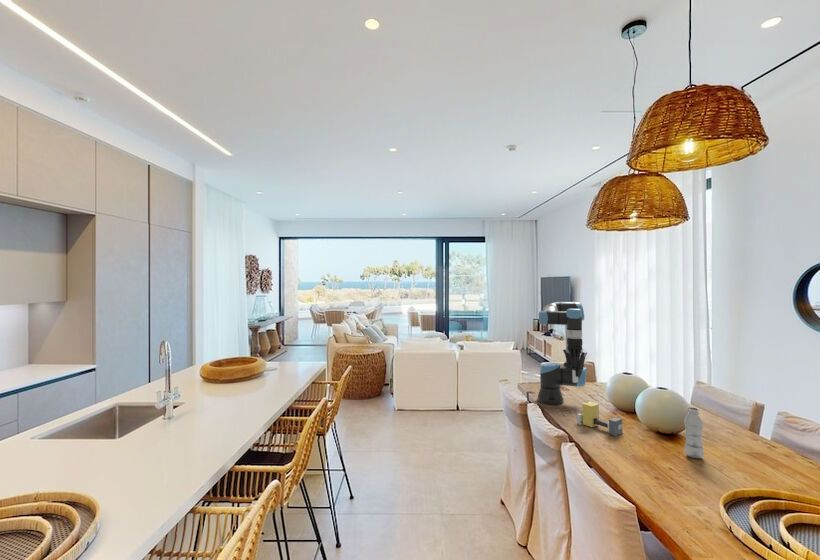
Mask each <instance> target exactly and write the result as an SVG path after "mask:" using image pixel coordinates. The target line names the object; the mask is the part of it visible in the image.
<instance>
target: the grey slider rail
mask: <svg viewBox="0 0 820 560" xmlns="http://www.w3.org/2000/svg"><path fill="white" fill-rule="evenodd" d="M576 424H577V425H581V426H582V425H584V424H583V413H576ZM594 424H597V426H601V427H603V428H607V432H608V435H610V436H614V437H617V436H619V435H622V434H623V419H622V418H620V417H614V418H610V419H608V421H605V420H602V419H600V418H599V419H594Z"/></svg>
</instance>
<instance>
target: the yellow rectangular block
mask: <svg viewBox="0 0 820 560" xmlns="http://www.w3.org/2000/svg"><path fill="white" fill-rule="evenodd" d="M599 405H600V404H599V403H595V402H591V401H589V402H585V403H582V414H583V424H582V425H584V426H587V427H590V428H594V427H597V426H598V425H597V424H594V419H599V420H600V409H599V407H600V406H599Z"/></svg>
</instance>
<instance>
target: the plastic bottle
mask: <svg viewBox="0 0 820 560" xmlns="http://www.w3.org/2000/svg"><path fill="white" fill-rule="evenodd" d="M699 414H700V413H699V408H696V407H687V414H686V415H685V417H684V419H683V422H684V427H685V444H684V453H685V454H686V456H688V457H690V458H691V459H692V458H693V459H702V458H703V457H704V453H705V451H704V447H703V441H702V439H703V438H702V435H703V434H702V433H703V428H704V423H703V422H704V421H703V420H702V418H701V417H700V416H699Z"/></svg>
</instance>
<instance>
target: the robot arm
mask: <svg viewBox="0 0 820 560" xmlns="http://www.w3.org/2000/svg"><path fill="white" fill-rule="evenodd" d="M583 307H584V306H583V304H582V303H581V302H580V301H579V302H577V301H555V302H549V303H548V304H545V306H544V307H543V308H542V310H541V311H539V312H538V324H540V325H545V326H546V325H556V326H557V325H558V326H559V325H561V326H562V325H563V326H565V327H564V329H565V330H564V331H565V332H564V333H565V349H563V350H562V352H563V353H564V356H565V361H564V362H563V365H561V364H560V363H559V362H547V363H546V362H545V363H543V364H541V365H540V367H539V368H540V369H539V370H540V371H539V374H540V379H539V381H540V382H539V383H540V384H539V385H540V387H539V392H538V395H537V401H538V402H540V403H541V402H542V403H541V404H544V403H545V405H553V406H554V405H555V406H557V405H562V404H564V400H565V399H564V397H563V393H562V391H561V386H563V387H564V386H567V387H576V388H577V387H578V388H580V387H585V385H586V381H587V371H588V368H587V367H585V360H586V356H587V355H588V352H587V351H584V349H583V321H584V320H585V313H584V311H585V310H584V308H583Z"/></svg>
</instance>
